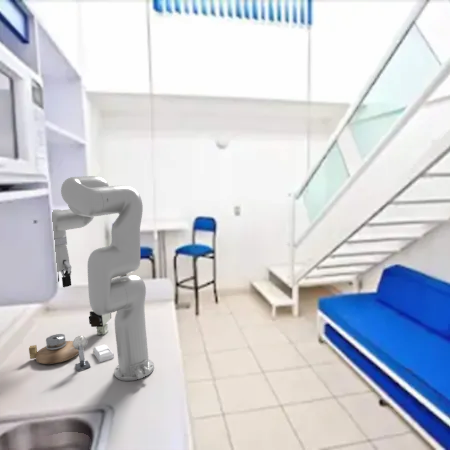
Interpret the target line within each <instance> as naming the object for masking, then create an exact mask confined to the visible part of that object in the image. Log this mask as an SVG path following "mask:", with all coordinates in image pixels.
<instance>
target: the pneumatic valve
mask: <svg viewBox="0 0 450 450" xmlns="http://www.w3.org/2000/svg"><path fill="white" fill-rule="evenodd" d="M111 319H112V313H110V314H106V315H97V314H96V313H94V311H93V310H92V309H91V310H90V311H89V316H88V321H89V323H88V324H89V325H90V327H91V328H96V335H98V336H99V335H103V336H105V335H106V334H108V332H109V329H108V322H109V321H110V320H111Z"/></svg>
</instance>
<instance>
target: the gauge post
mask: <svg viewBox="0 0 450 450" xmlns="http://www.w3.org/2000/svg"><path fill="white" fill-rule="evenodd" d="M72 341H73V346H74V348H75V349H77V350H78V351H79V354H78V357H79V362H78V363H75V364H74V366H75V369H76V370H77V372H80V371H84V370H86V369H89V368H91V364H90V363H89V361H88V360H85V352H84V351H85V350H84V349H85V348H86V347H87V345H88V339H87V338H86V337H85V336H84V335H78V336H77V337H75V338H74V339H73V340H72Z"/></svg>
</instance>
